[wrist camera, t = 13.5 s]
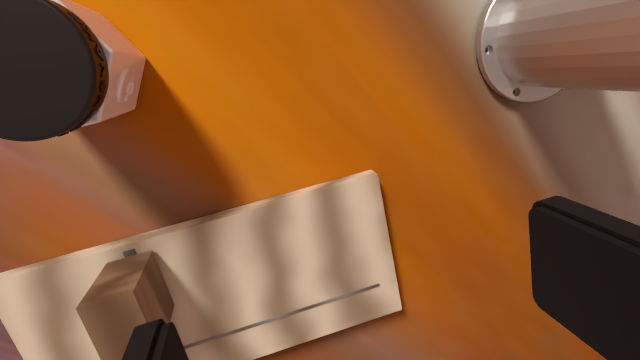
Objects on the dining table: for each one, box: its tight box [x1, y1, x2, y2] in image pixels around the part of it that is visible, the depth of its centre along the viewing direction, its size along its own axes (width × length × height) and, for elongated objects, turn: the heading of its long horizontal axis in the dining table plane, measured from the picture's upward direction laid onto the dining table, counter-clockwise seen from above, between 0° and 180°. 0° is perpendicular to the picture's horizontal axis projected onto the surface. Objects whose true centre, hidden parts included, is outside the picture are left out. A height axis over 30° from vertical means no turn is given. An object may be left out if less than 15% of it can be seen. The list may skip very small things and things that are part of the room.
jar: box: [0, 0, 146, 141], centre depth 26 cm, size 9×8×12 cm
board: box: [0, 170, 402, 360], centre depth 38 cm, size 36×16×2 cm, turn 104°
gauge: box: [76, 250, 174, 360], centre depth 33 cm, size 4×13×7 cm, turn 14°
